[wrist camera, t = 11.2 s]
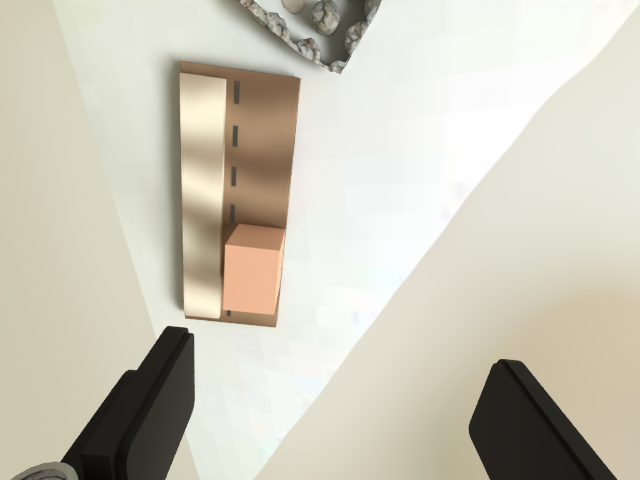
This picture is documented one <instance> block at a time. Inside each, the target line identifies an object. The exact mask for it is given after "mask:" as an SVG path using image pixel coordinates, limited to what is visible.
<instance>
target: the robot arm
mask: <svg viewBox="0 0 640 480" xmlns="http://www.w3.org/2000/svg"><path fill="white" fill-rule="evenodd" d="M194 401H195V385H194V334H193V333H188V328H183V327H173V326H167V327H166V328H165V329H164V331H163V332H162V334H161V335H160V337H159V338H158V340H157V341H156V343H155V344H154V346H153V347H152V349H151V350H150V352H149V353H148V355H147V356H146V357H145V359H144V360H143V362H142V363H141V365H140V367H139V368H138V369H137V370H128V371H126V372H125V373H124V374H123V375H122V377H121V378H120V379H119V381H118V382H117V384H116V385H115V386H114V388H113V389H112V390H111V392H110V393H109V395H108V396H107V397H106V399H105V400H104V402H103V403H102V404H101V406H100V407H99V408H98V410H97V411H96V413H95V414H94V415H93V417H92V418H91V420H90V421H89V422H88V424H87V425H86V427H85V428H84V429H83V431H82V432H81V434H80V435H79V436H78V438H77V439H76V440H75V442H74V443H73V445H72V446H71V447H70V449H69V450H68V452H67V453H66V454H65V456H64V457H63V459H62V460H61V461H60V462H51V463H43V464H40V465H37V466H34V467H31V468H29V469H27V470H25V471H24V472H22V473H20V474H18V475H16V476H15V477H14V478H12V479H11V480H165V479H166V476H167V473H168V471H169V469H170V466H171V464H172V461H173V459H174V456H175V454H176V451H177V449H178V446H179V444H180V441H181V439H182V436H183V434H184V432H185V429H186V427H187V424H188V422H189V419H190V417H191V414H192V411H193V408H194ZM469 434H470V437H471V440H472V442H473V444H474V446H475V448H476V450H477V452H478V455H479V456H480V459H481V461H482V463H483V465H484V467H485V469H486V472H487V474H488V476H489V478H490V480H617V479H616V477H615V476H614V475H613V474H612V473H611V471H610V470H609V469H608V468H607V466H606V465H605V464H604V463H603V461H602V460H601V459H600V458H599V456H598V455H597V454H596V453H595V451H594V450H593V449H592V448H591V447H590V445H589V444H588V443H587V442H586V440H585V439H584V438H583V437H582V435H581V434H580V433H579V432H578V431H577V429H576V428H575V427H574V426H573V424H572V423H571V422H570V421H569V419H568V418H567V417H566V416H565V414H564V413H563V412H562V411H561V409H560V408H559V407H558V406H557V404H556V403H555V402H554V401H553V399H552V398H551V397H550V396H549V395H548V393H547V392H546V391H545V390H544V388H543V387H542V386H541V385H540V383H539V382H538V381H537V380H536V378H535V377H534V376H533V375H532V373H531V372H530V371H529V370H528V368H527V367H526V366H525V365H524V364H523V363H522V362H521V361H517V360H507V359H500V360H499V361H498V362H497V363H495V364H493V366H492V368H491V370H490V373H489V375H488V378H487V380H486V383H485V385H484V388H483V390H482V393H481V395H480V398H479V400H478V403H477V406H476V408H475V411H474V413H473V416H472V418H471V421H470V424H469Z"/></svg>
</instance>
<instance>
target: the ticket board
mask: <svg viewBox="0 0 640 480" xmlns="http://www.w3.org/2000/svg"><path fill="white" fill-rule="evenodd" d="M179 74H180V125H181V175H182V225H183V276H184V315H185V318H187V319H197V320H207V321H217V322H227V323H237V324H247V325H257V326H266V327H276V324H277V316H278V306H279V296H280V287H279V292H278V297H277V302H276V307H275V312H274V315H270V314H260V313H250V312H241V311H231V310H223V303H224V269H225V244H226V243H227V241H228V240H229V238H230V237H231V235H232V234H233V232H234V230H235V229H236V227H237V226H238V224H247V225H256V226H264V227H273V228H281V229H285V235H286V225H287V214H288V204H289V194H290V184H291V174H292V163H293V153H294V143H295V133H296V123H297V112H298V102H299V92H300V82H301V79H300V78H296V77H289V76H282V75H275V74H268V73H261V72H254V71H247V70H240V69H233V68H226V67H219V66H212V65H205V64H198V63H191V62H184V61H180V73H179ZM284 245H285V237H284ZM283 255H284V248H283ZM282 265H283V258H282ZM281 275H282V268H281ZM280 286H281V278H280Z"/></svg>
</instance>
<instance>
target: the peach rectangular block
mask: <svg viewBox="0 0 640 480" xmlns="http://www.w3.org/2000/svg"><path fill="white" fill-rule="evenodd" d="M284 237H285V229H281V228H273V227H264V226H256V225H247V224H238V226H237V227H236V229H235V230H234V232H233V234H232V235H231V237H230V238H229V240H228V241H227V243H226V244H225V269H224V303H223V310H231V311H241V312H250V313H260V314H270V315H274V312H275V307H276V302H277V297H278V292H279V287H280V278H281V268H282V258H283V248H284Z"/></svg>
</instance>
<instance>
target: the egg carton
mask: <svg viewBox="0 0 640 480" xmlns="http://www.w3.org/2000/svg"><path fill="white" fill-rule="evenodd" d="M238 1H239V2H240V3H241V4H242V5H243V6H244V7H246V8H248V9H249V10H250V11H251V12H252V13H253V16H254V19H255V20H256V21H257V22H259V23H260V24H261V25H262V26H264V27H265V26H267V25H268V27H269V28H270V30H272V31H273V32H274V33H275V34H276V35H278V36H279V37H281V38H282V39H283V40H284V41H285V42H286V43H287V44H288V45H289V46H291V47H292V48H293V49H294V50H295V51H296V52H298V53H299V54H301V55H302V56H304V57H305V58H307V59H309V60H311V61H313V62H314V63H316V64H318V65H320V66H322V67H324V68H326V69H327V70H329V71H331V72H332V71H334V72H336V73H338V74H341V72H342V70H343V68H344V67H345V66H346V65H347V63H348V61H349V59H350V57H351V54H352V52H353V51H354V50H355V49H356V47H357V46H358V44H359V42H360V40H361V38H362V36H363V35H364V33H365V31H366V30H367V28H368V26H369V24H371V22H372V20H373V19H374V17H375V14H376V12H377V10H378V8H379V6H380V3H381V1H382V0H366V1H365V5H364V12H365V15H366V17H367V20H366V21H365V22H363V21H359V22H358V23H357V24H355V25H354V26H352V27H350V28H349V29H348V31H347V32H346V37H345V40H344V47H345V50H346V52H347V53H348V54H349V57H348V59H347V61H346V62H342V61H334V62H332V63H331V64H330V65H329V66H326V65H324V64H323V63H321V62H320V50H319V47H318V45H317V44H316V43H315V41H314V39H312V38H308V39H303V40H300V41H299V42H298V43H297V44H294V43H293V42H291V40H290V36H289V30H288V28H287V26H286V23H285V21H284V19H282V18H280V17H279V15H278V13H271V12H270V13H267V12H266V11H265V10H264V9H262V8H261V7H260V6H259V5H258V4H257V3H256V2H255V1H254V0H238ZM282 3H283V6H284V8H285V9H286V10H287V11H288V12H290V13H293V14H294V13H299V12H301V11H302V10H303V9H304V8H305V5H306V0H282ZM312 19H313V22H314V27H315V29H316V30H317V32H318V33H319V34H321V35H323V36H329V35H331V34H333V33H334V32H335V31H336V29H337V27H338V23H339V21H340V11H339V9H338V7H337V5H336V3H335V2H334V1H333V0H322V1H319V2H318V3H317V4H316V6H315V8H314V9H313V13H312Z"/></svg>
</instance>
